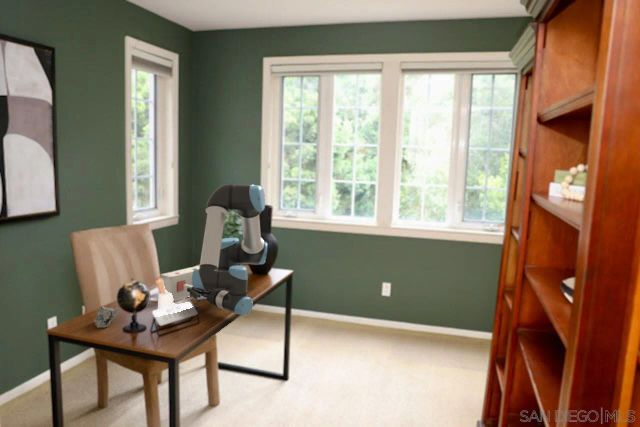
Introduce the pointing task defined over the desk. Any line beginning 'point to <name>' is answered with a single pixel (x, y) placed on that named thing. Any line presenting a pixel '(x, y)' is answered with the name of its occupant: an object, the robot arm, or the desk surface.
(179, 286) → the button
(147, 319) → the desk surface
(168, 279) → the push button box
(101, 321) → the mineral specimen
